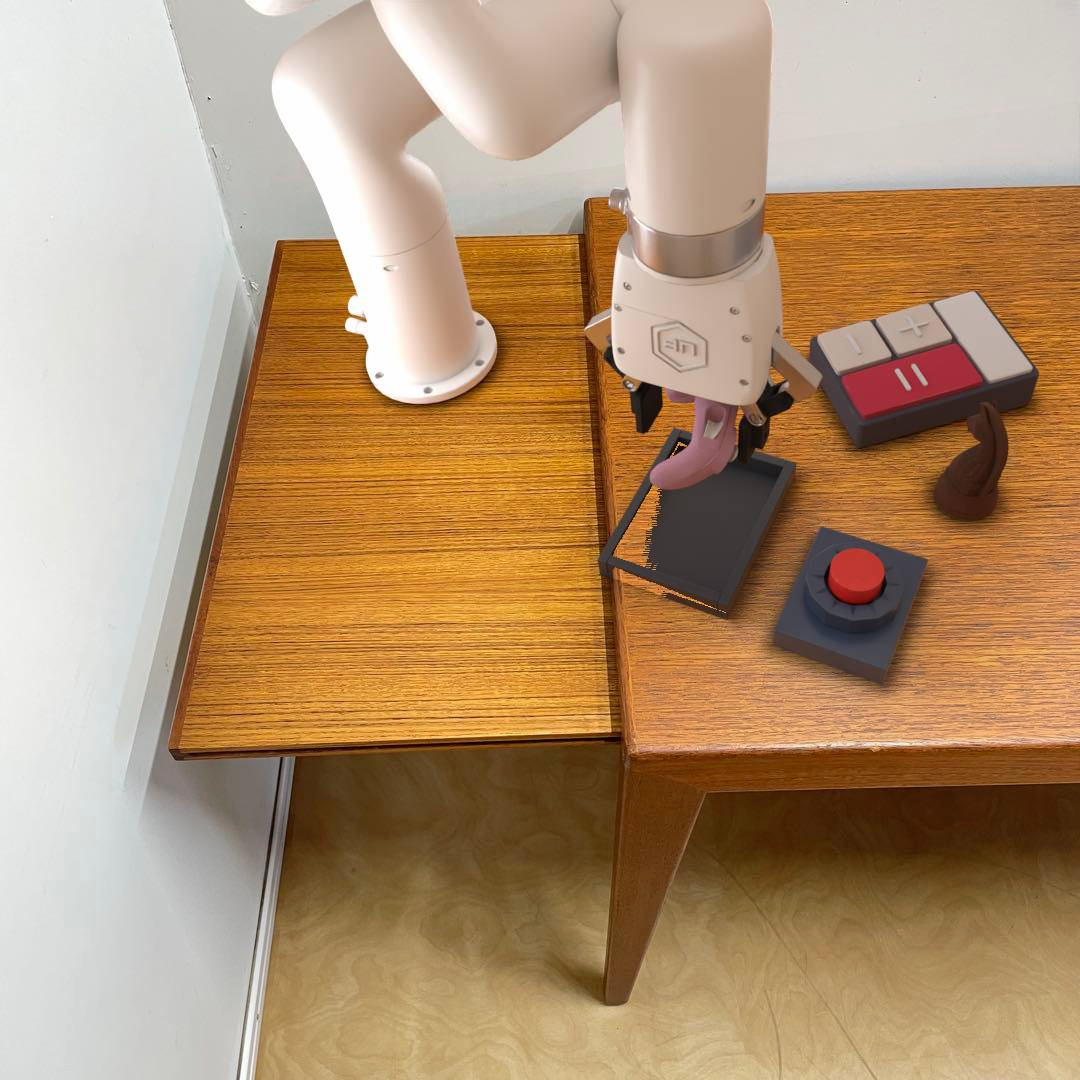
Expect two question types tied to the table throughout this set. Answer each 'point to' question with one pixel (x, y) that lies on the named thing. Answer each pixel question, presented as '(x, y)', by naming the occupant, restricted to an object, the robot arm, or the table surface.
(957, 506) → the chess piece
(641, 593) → the table surface
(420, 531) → the table surface
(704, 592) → the tray
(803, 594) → the button base
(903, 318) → the calculator
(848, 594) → the button
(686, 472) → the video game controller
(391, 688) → the table surface
